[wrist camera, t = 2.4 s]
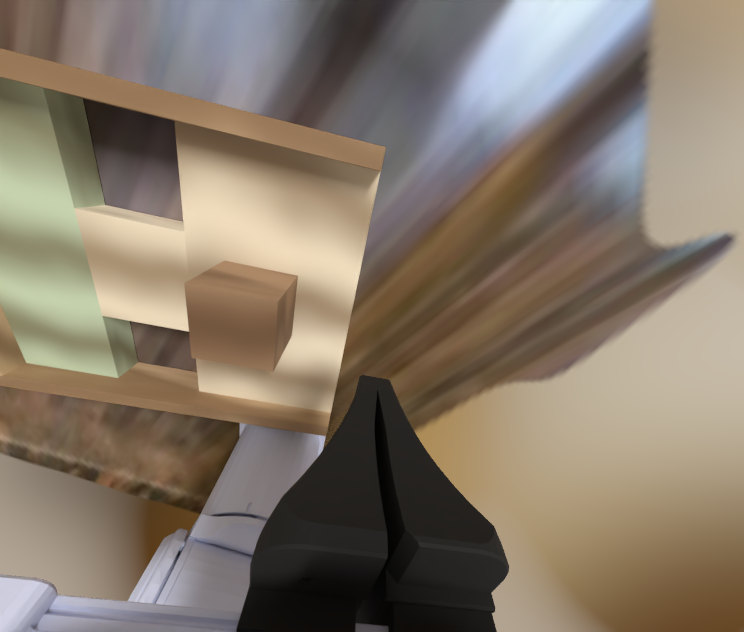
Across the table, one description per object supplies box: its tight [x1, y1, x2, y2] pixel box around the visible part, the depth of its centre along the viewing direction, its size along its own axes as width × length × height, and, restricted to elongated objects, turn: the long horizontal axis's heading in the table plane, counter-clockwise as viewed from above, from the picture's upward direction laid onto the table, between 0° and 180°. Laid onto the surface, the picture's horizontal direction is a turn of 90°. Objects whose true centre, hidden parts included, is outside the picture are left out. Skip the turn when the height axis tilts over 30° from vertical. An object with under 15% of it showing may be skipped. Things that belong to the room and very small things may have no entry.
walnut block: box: [184, 261, 298, 372], centre depth 16 cm, size 4×4×4 cm
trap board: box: [0, 48, 386, 436], centre depth 18 cm, size 20×24×4 cm
